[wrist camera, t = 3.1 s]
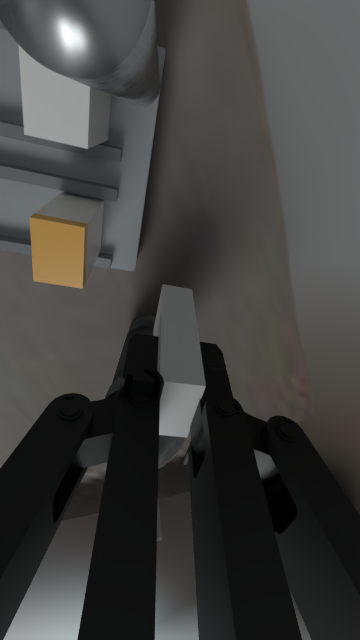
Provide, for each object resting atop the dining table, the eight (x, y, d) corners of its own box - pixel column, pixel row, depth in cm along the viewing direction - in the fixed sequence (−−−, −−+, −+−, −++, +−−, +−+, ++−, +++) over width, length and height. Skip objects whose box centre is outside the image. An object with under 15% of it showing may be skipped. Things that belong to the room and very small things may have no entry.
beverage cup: (120, 299, 31) (73, 505, 15) (188, 310, 32) (215, 512, 16) (113, 352, 35) (70, 562, 19) (174, 360, 36) (184, 564, 20)
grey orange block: (63, 243, 24) (33, 281, 19) (62, 191, 22) (29, 217, 17) (100, 249, 25) (82, 288, 19) (104, 200, 23) (84, 227, 17)
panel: (-97, 217, 26) (-135, 231, 22) (-172, -40, 18) (-249, -76, 14) (137, 258, 29) (133, 276, 25) (165, 56, 21) (165, 45, 17)
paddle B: (62, 129, 20) (24, 134, 15) (62, 52, 18) (17, 23, 12) (108, 140, 21) (87, 148, 15) (113, 66, 18) (91, 43, 13)
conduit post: (120, 102, 20) (-15, 54, 5) (124, 54, 18) (-45, -223, 3) (156, 111, 20) (140, 95, 5) (163, 65, 19) (166, -141, 4)
